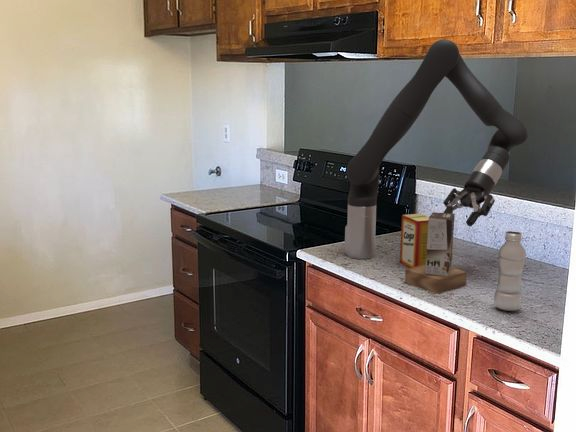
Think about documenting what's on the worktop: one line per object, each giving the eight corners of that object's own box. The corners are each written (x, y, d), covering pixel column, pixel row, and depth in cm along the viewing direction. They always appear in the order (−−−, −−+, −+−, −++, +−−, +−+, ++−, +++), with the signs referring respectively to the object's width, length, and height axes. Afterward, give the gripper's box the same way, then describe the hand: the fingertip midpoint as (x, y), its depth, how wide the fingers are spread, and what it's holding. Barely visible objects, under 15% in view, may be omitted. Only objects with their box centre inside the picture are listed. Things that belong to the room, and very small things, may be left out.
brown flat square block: (405, 282, 177) (405, 269, 176) (432, 274, 184) (433, 262, 183) (438, 293, 168) (438, 279, 167) (465, 285, 175) (466, 271, 174)
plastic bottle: (498, 302, 161) (504, 228, 157) (524, 309, 157) (531, 232, 153) (489, 309, 156) (495, 233, 152) (515, 316, 152) (522, 237, 148)
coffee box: (448, 277, 169) (451, 219, 166) (424, 274, 172) (427, 217, 168) (452, 267, 178) (455, 212, 174) (429, 265, 180) (432, 211, 176)
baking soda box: (434, 269, 190) (436, 218, 186) (415, 271, 188) (417, 220, 184) (417, 261, 198) (420, 212, 195) (399, 262, 196) (401, 213, 193)
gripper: (458, 167, 184) (430, 210, 180) (499, 173, 173) (471, 218, 169) (468, 183, 188) (442, 225, 184) (509, 189, 177) (482, 234, 173)
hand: (456, 221), depth 176 cm, fingers open, 8 cm apart
